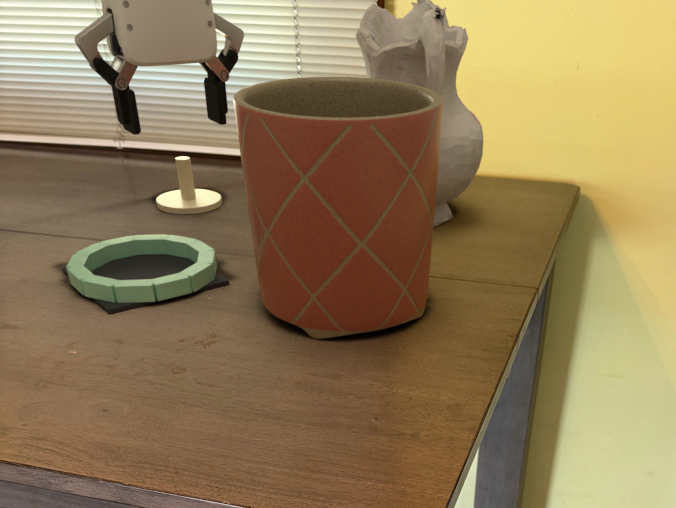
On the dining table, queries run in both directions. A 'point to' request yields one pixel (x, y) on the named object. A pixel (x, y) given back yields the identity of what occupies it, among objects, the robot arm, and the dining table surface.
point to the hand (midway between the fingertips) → (176, 126)
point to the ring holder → (188, 193)
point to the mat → (146, 275)
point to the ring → (143, 288)
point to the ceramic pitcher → (428, 84)
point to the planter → (341, 198)
